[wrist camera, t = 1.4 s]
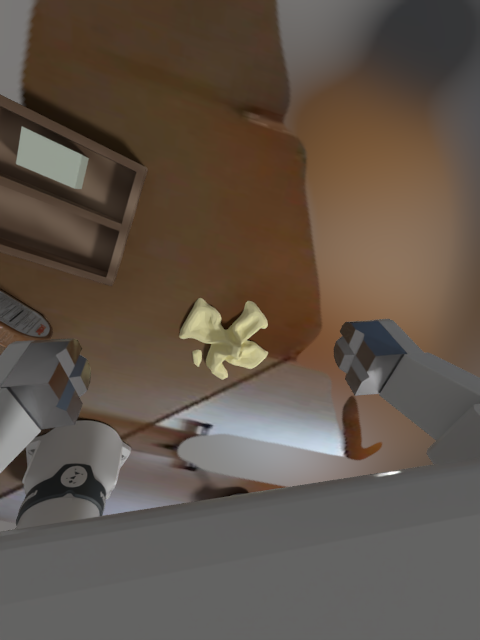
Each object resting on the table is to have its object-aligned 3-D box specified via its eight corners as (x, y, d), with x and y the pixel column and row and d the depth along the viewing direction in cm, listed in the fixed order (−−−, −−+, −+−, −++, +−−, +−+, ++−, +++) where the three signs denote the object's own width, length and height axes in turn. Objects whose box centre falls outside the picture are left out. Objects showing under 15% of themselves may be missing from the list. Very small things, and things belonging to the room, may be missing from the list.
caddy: (115, 278, 43) (111, 286, 39) (-47, 227, 35) (-70, 230, 31) (147, 170, 38) (146, 167, 34) (-33, 80, 30) (-58, 65, 26)
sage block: (81, 189, 36) (74, 188, 33) (28, 166, 33) (15, 163, 30) (88, 158, 35) (82, 154, 32) (34, 132, 32) (21, 126, 29)
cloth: (171, 301, 47) (172, 314, 42) (268, 286, 51) (280, 297, 46) (188, 396, 57) (191, 417, 52) (269, 378, 61) (279, 395, 56)
